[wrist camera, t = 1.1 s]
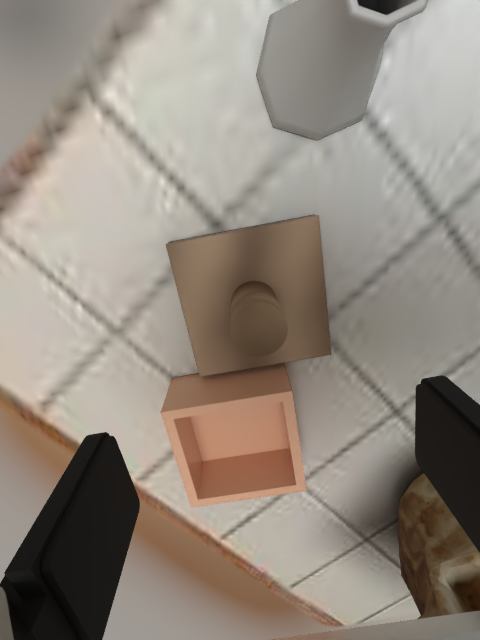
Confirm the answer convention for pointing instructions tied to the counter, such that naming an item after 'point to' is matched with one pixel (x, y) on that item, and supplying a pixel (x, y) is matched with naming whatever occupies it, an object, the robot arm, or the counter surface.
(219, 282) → the lid
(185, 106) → the counter surface
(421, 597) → the ceramic vessel
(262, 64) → the flask
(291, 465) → the open square container
